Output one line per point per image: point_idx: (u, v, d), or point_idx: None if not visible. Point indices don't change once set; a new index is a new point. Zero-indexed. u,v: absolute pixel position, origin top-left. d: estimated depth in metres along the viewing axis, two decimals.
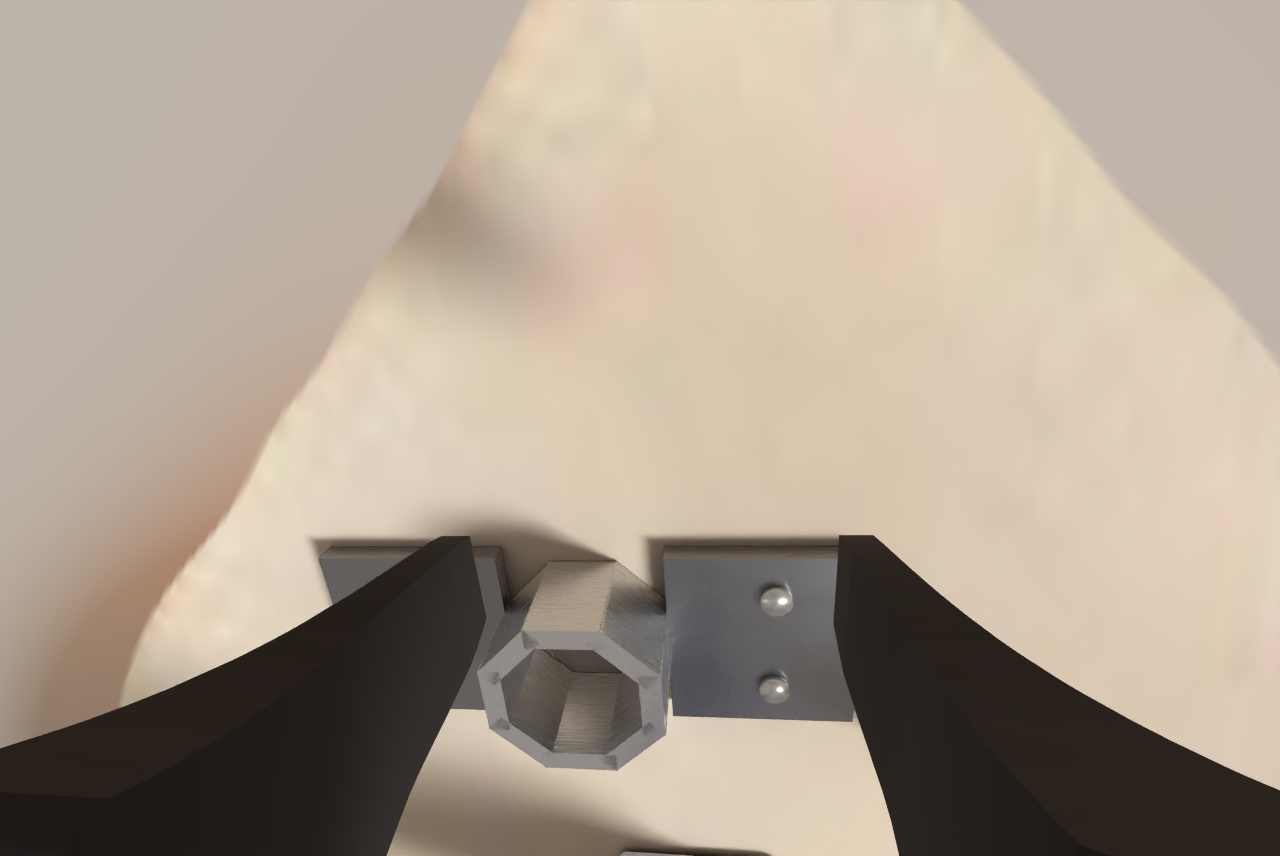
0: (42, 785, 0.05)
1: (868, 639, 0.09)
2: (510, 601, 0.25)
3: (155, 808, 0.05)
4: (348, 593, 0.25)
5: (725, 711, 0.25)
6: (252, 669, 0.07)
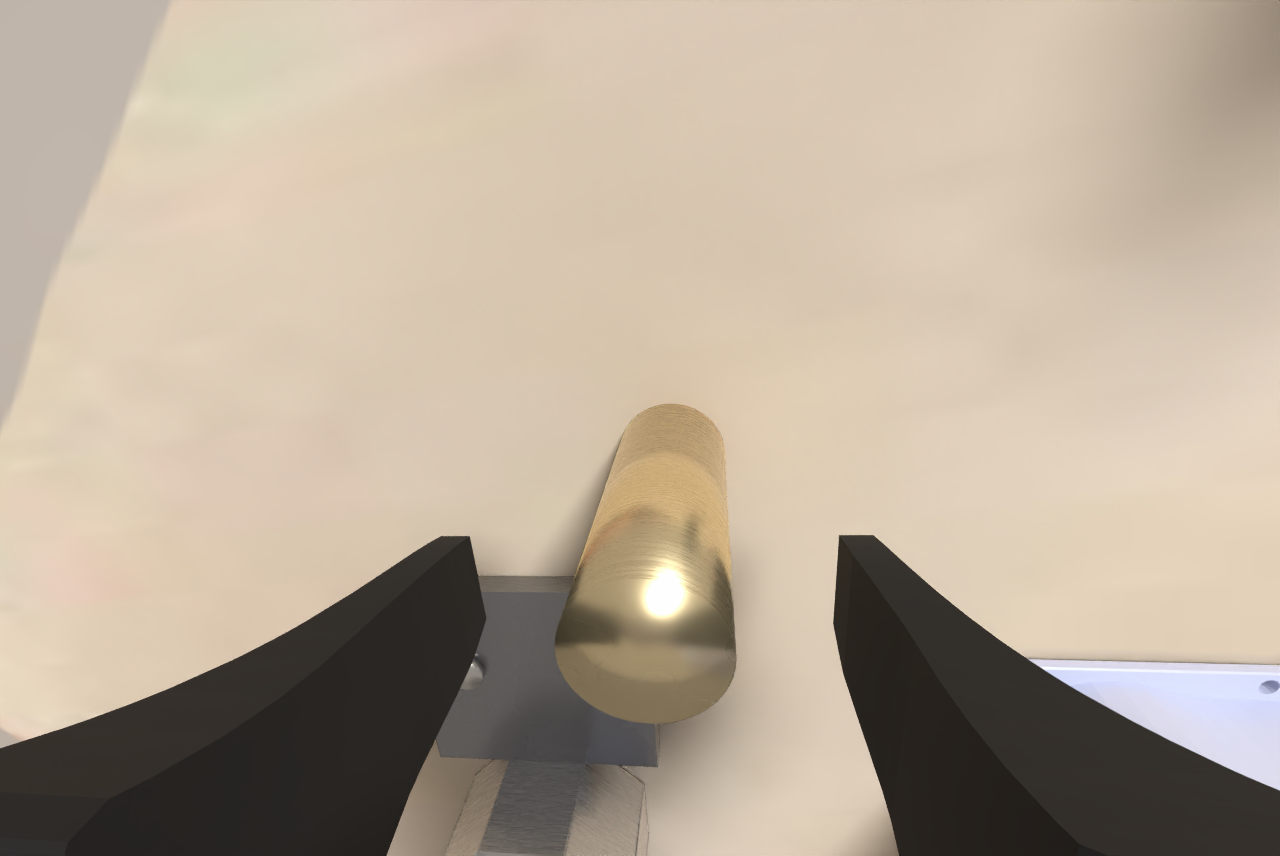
0: (42, 785, 0.05)
1: (868, 639, 0.09)
2: None
3: (155, 808, 0.05)
4: None
5: None
6: (252, 669, 0.07)
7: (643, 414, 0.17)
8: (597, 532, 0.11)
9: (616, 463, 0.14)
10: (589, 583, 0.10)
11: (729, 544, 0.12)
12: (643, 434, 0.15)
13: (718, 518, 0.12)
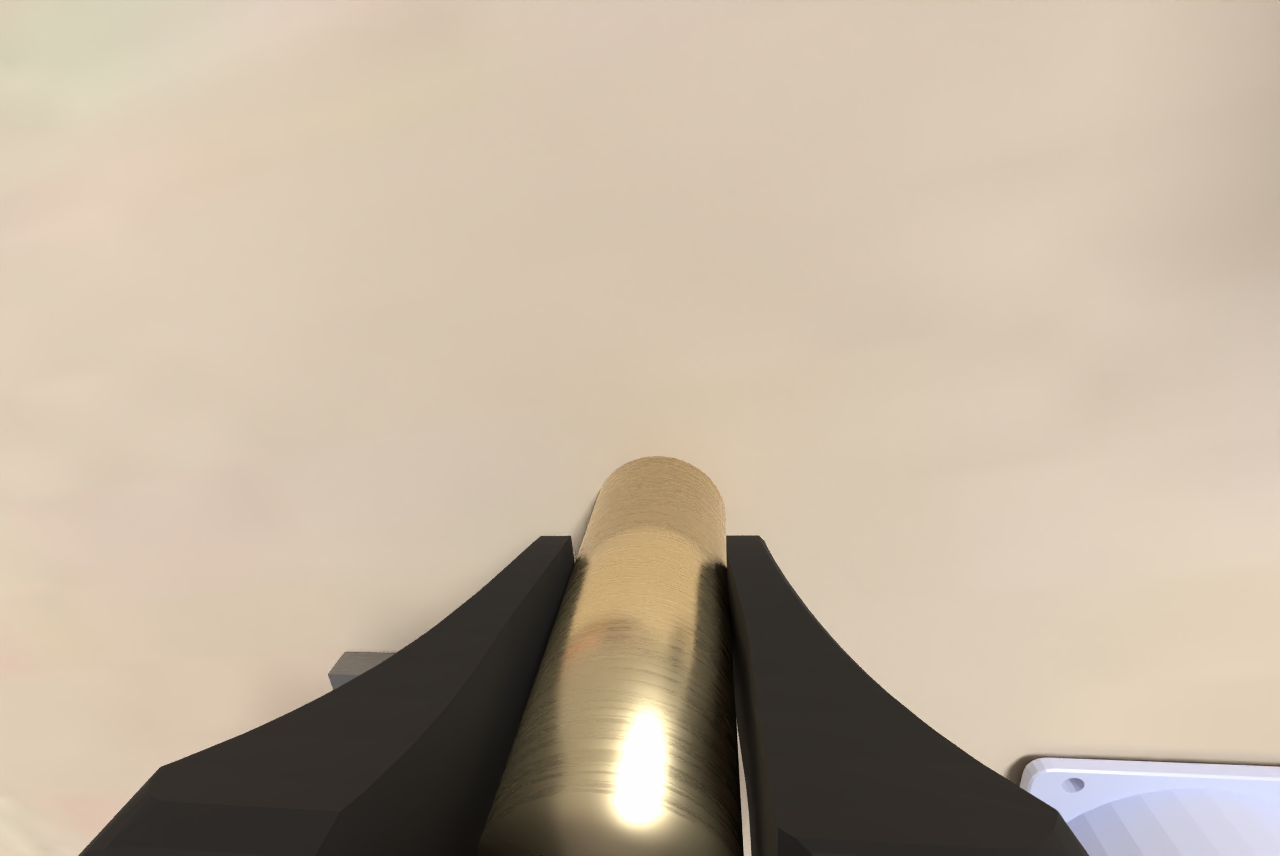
0: (258, 797, 0.05)
1: (735, 636, 0.10)
2: None
3: (370, 821, 0.05)
4: None
5: None
6: (405, 673, 0.07)
7: (623, 470, 0.13)
8: (548, 672, 0.08)
9: (585, 543, 0.11)
10: (524, 786, 0.06)
11: (733, 674, 0.09)
12: (621, 502, 0.12)
13: (718, 640, 0.09)
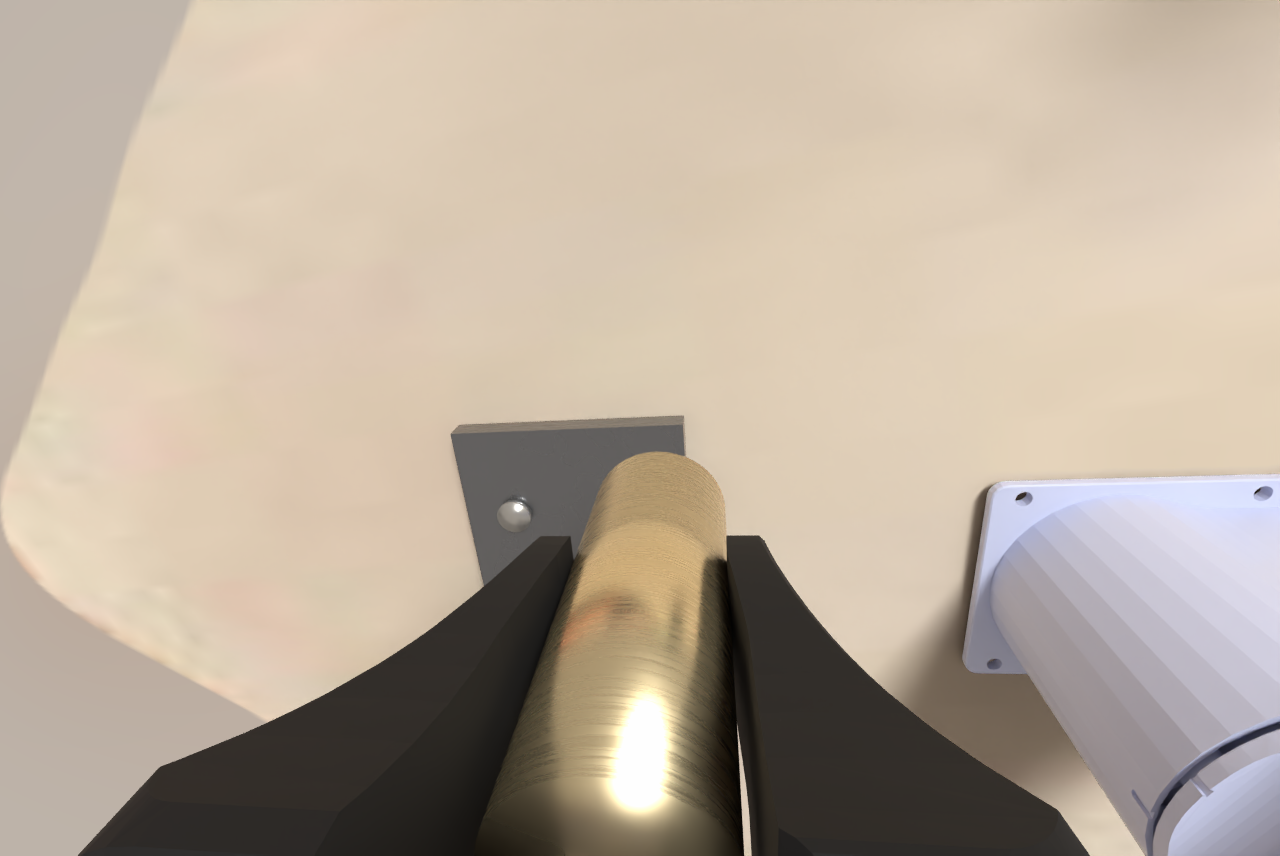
0: (257, 797, 0.05)
1: (736, 637, 0.10)
2: None
3: (369, 821, 0.05)
4: None
5: None
6: (404, 673, 0.07)
7: (625, 464, 0.13)
8: (550, 659, 0.08)
9: (587, 535, 0.11)
10: (527, 770, 0.06)
11: (733, 667, 0.09)
12: (623, 495, 0.12)
13: (719, 632, 0.09)
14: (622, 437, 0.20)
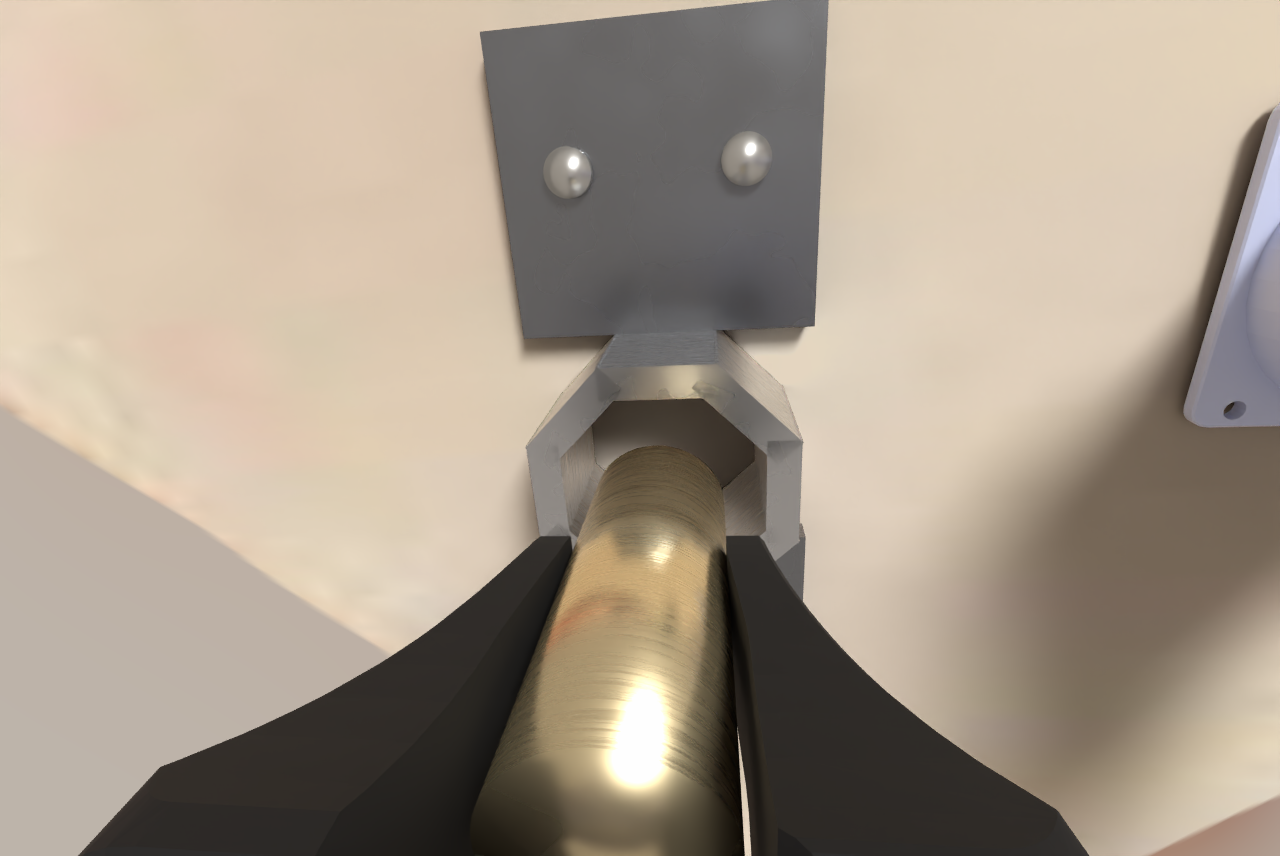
0: (258, 797, 0.05)
1: (735, 637, 0.10)
2: None
3: (370, 821, 0.05)
4: None
5: (804, 240, 0.15)
6: (405, 673, 0.07)
7: (628, 456, 0.13)
8: (553, 637, 0.08)
9: (589, 522, 0.11)
10: (531, 741, 0.06)
11: None
12: (627, 485, 0.12)
13: (722, 622, 0.09)
14: (735, 24, 0.14)
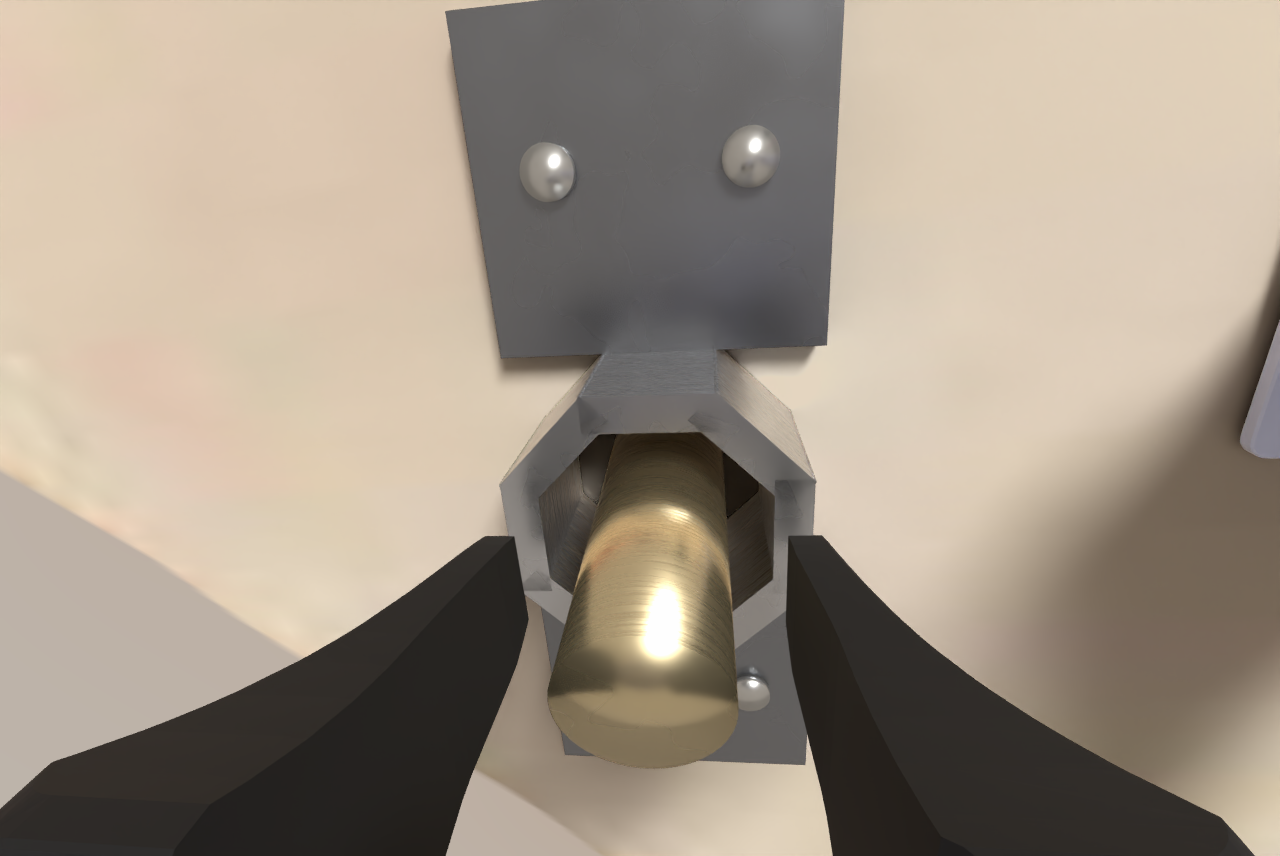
0: (136, 790, 0.05)
1: (808, 638, 0.09)
2: None
3: (248, 814, 0.05)
4: None
5: (815, 249, 0.13)
6: (319, 671, 0.07)
7: None
8: (596, 563, 0.11)
9: (613, 472, 0.14)
10: (589, 633, 0.09)
11: None
12: (642, 441, 0.14)
13: (721, 550, 0.12)
14: (737, 1, 0.12)
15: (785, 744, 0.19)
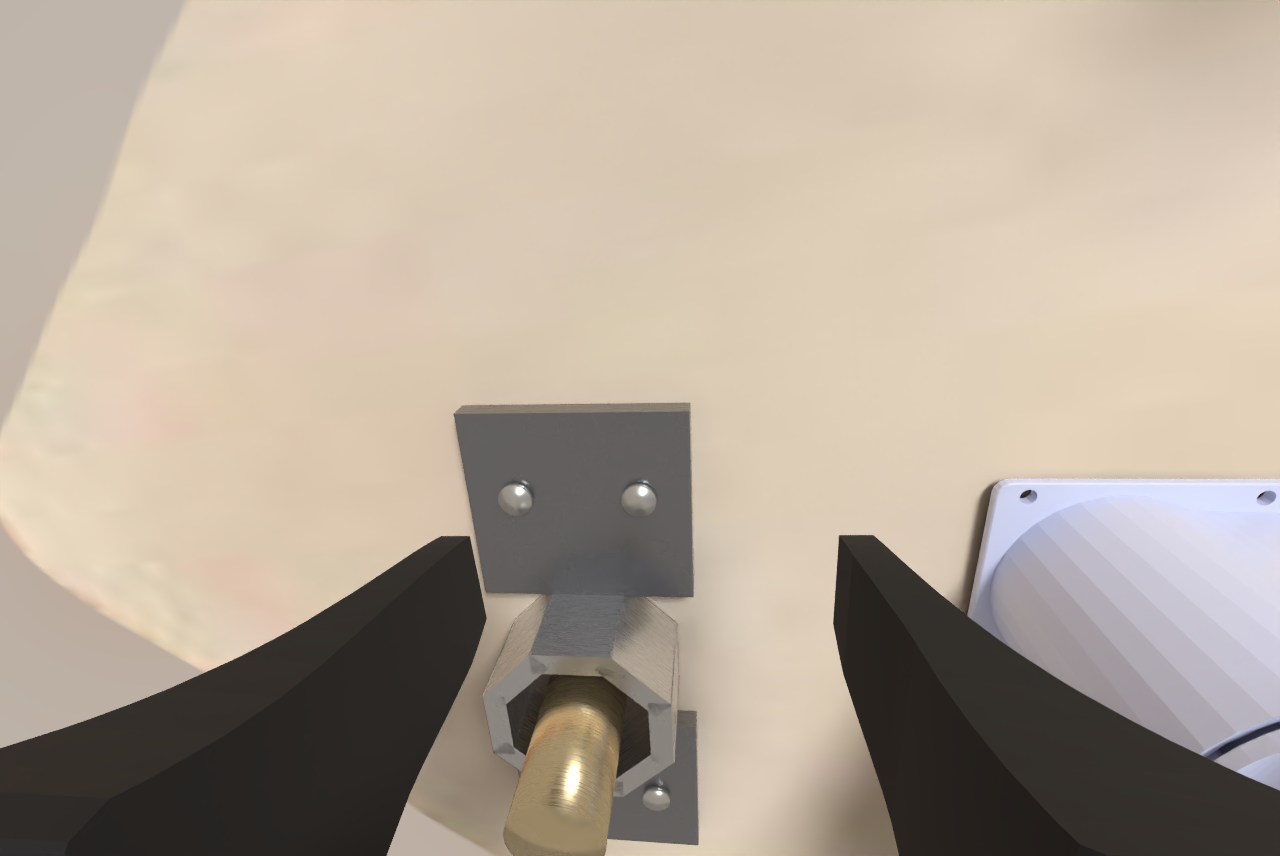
0: (42, 785, 0.05)
1: (868, 639, 0.09)
2: None
3: (155, 808, 0.05)
4: None
5: (682, 546, 0.21)
6: (253, 669, 0.07)
7: None
8: (536, 749, 0.19)
9: None
10: (526, 801, 0.17)
11: (618, 751, 0.20)
12: None
13: (612, 736, 0.20)
14: (628, 422, 0.20)
15: (683, 831, 0.27)
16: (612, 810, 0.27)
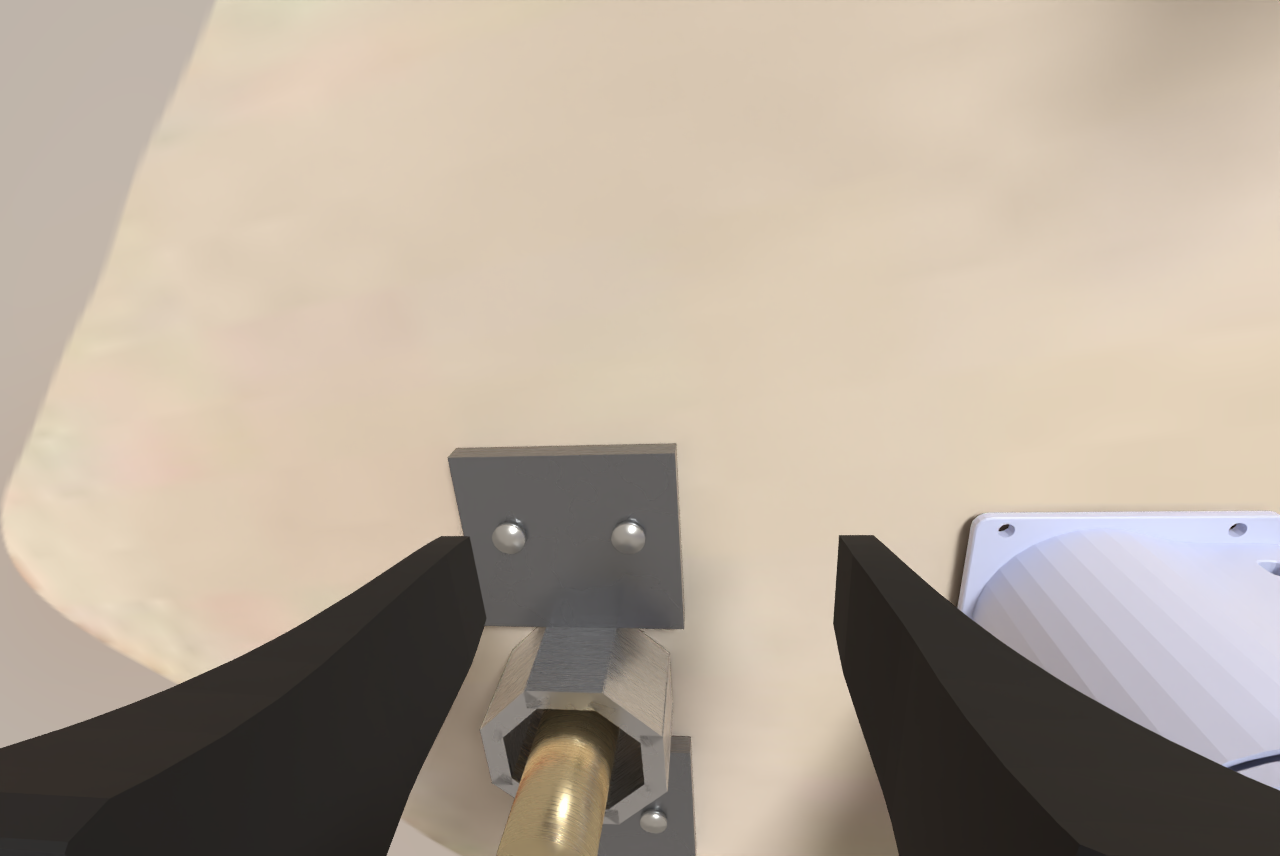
0: (42, 785, 0.05)
1: (868, 639, 0.09)
2: None
3: (155, 808, 0.05)
4: None
5: (672, 580, 0.22)
6: (252, 669, 0.07)
7: None
8: (526, 781, 0.19)
9: None
10: (515, 833, 0.18)
11: (608, 783, 0.20)
12: None
13: (602, 768, 0.20)
14: (616, 464, 0.20)
15: (681, 852, 0.28)
16: (611, 833, 0.28)
